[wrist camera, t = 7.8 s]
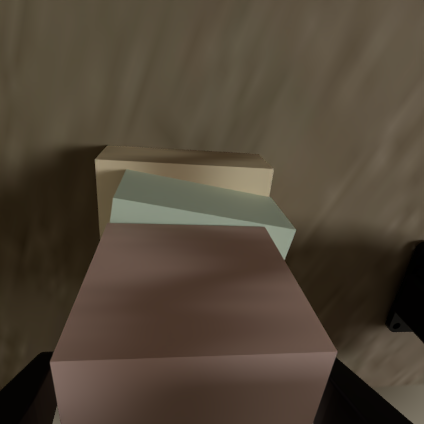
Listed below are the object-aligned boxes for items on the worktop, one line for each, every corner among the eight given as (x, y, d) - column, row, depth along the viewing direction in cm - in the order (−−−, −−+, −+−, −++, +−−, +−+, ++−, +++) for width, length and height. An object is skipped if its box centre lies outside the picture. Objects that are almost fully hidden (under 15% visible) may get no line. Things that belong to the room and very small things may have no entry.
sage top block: (270, 197, 13) (296, 229, 11) (233, 308, 15) (246, 358, 13) (126, 169, 12) (113, 197, 9) (108, 293, 14) (93, 345, 12)
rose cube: (264, 226, 10) (337, 351, 6) (245, 339, 12) (287, 496, 8) (107, 223, 10) (49, 361, 5) (114, 343, 12) (77, 517, 7)
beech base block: (255, 151, 15) (273, 169, 13) (238, 270, 18) (250, 305, 16) (109, 142, 14) (94, 159, 12) (114, 269, 17) (104, 306, 15)
